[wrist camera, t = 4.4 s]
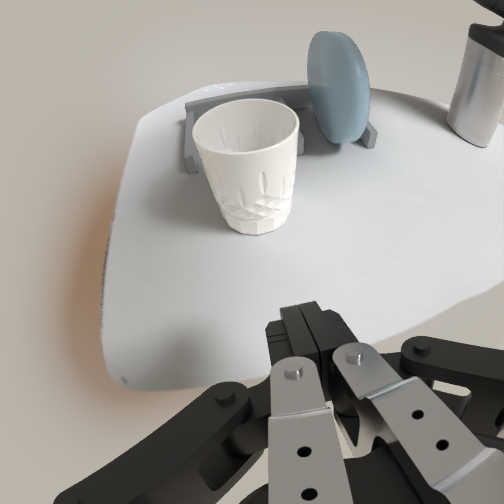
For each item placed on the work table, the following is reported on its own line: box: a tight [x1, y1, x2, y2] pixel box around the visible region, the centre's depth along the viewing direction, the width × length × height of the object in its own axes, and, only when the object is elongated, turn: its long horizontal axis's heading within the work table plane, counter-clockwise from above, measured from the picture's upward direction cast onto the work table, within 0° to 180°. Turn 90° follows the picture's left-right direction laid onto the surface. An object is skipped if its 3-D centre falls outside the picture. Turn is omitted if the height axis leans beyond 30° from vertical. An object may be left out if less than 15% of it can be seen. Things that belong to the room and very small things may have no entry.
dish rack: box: [184, 31, 378, 174], centre depth 27 cm, size 15×23×14 cm, turn 99°
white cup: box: [192, 99, 299, 235], centre depth 23 cm, size 8×8×10 cm
